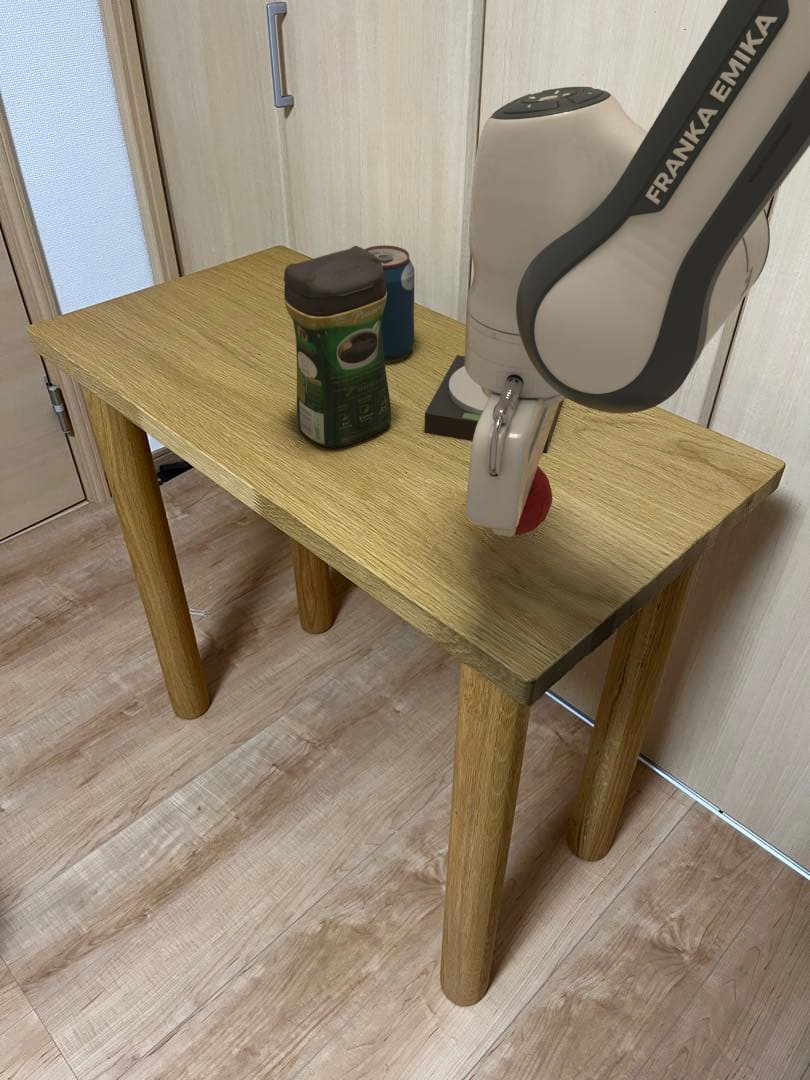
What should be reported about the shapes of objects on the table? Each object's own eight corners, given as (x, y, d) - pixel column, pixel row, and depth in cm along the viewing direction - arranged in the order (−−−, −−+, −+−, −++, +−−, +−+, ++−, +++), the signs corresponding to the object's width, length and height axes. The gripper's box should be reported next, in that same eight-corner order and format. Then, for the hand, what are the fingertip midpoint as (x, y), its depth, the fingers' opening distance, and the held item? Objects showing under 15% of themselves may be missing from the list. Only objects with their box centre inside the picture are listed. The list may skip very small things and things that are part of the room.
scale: (566, 390, 96) (570, 365, 94) (546, 453, 87) (549, 426, 84) (455, 373, 99) (456, 348, 97) (424, 432, 90) (424, 406, 87)
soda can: (425, 351, 103) (427, 254, 95) (385, 371, 99) (384, 273, 91) (385, 332, 107) (383, 238, 99) (345, 352, 103) (340, 255, 95)
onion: (551, 556, 68) (561, 475, 63) (479, 556, 68) (483, 475, 63) (543, 511, 72) (552, 432, 67) (476, 511, 73) (480, 432, 67)
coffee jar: (361, 396, 95) (354, 232, 83) (402, 428, 90) (401, 258, 78) (285, 424, 91) (266, 255, 79) (324, 459, 86) (311, 284, 74)
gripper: (546, 430, 51) (528, 596, 60) (593, 292, 66) (573, 441, 75) (444, 415, 53) (442, 578, 61) (513, 283, 67) (503, 430, 76)
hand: (514, 502), depth 68 cm, fingers closed on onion, 6 cm apart
